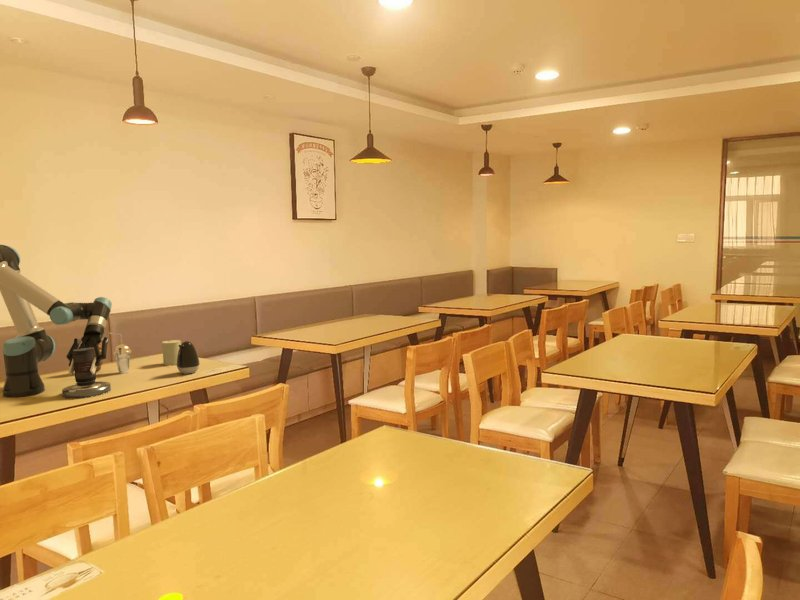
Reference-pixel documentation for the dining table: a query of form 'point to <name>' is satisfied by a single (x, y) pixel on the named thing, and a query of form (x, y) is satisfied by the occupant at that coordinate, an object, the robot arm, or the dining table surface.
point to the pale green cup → (170, 351)
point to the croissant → (96, 357)
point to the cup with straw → (122, 356)
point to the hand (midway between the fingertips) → (81, 372)
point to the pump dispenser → (187, 358)
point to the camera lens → (84, 366)
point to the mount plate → (86, 390)
